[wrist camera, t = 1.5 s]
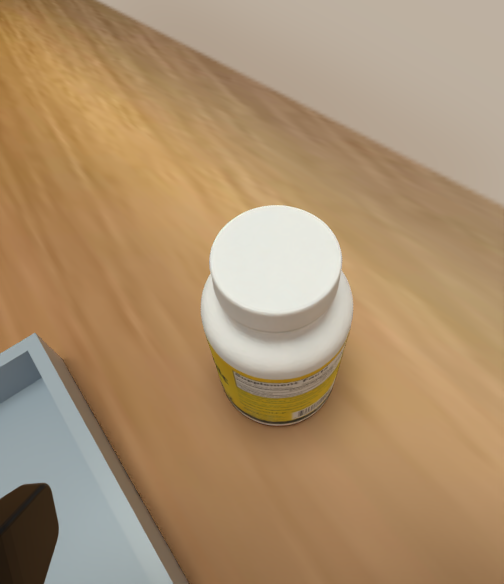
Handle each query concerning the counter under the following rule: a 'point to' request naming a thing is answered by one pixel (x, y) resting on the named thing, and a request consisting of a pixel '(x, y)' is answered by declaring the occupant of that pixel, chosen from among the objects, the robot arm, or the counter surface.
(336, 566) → the counter surface
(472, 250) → the counter surface
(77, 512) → the tray
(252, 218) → the supplement bottle
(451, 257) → the counter surface
